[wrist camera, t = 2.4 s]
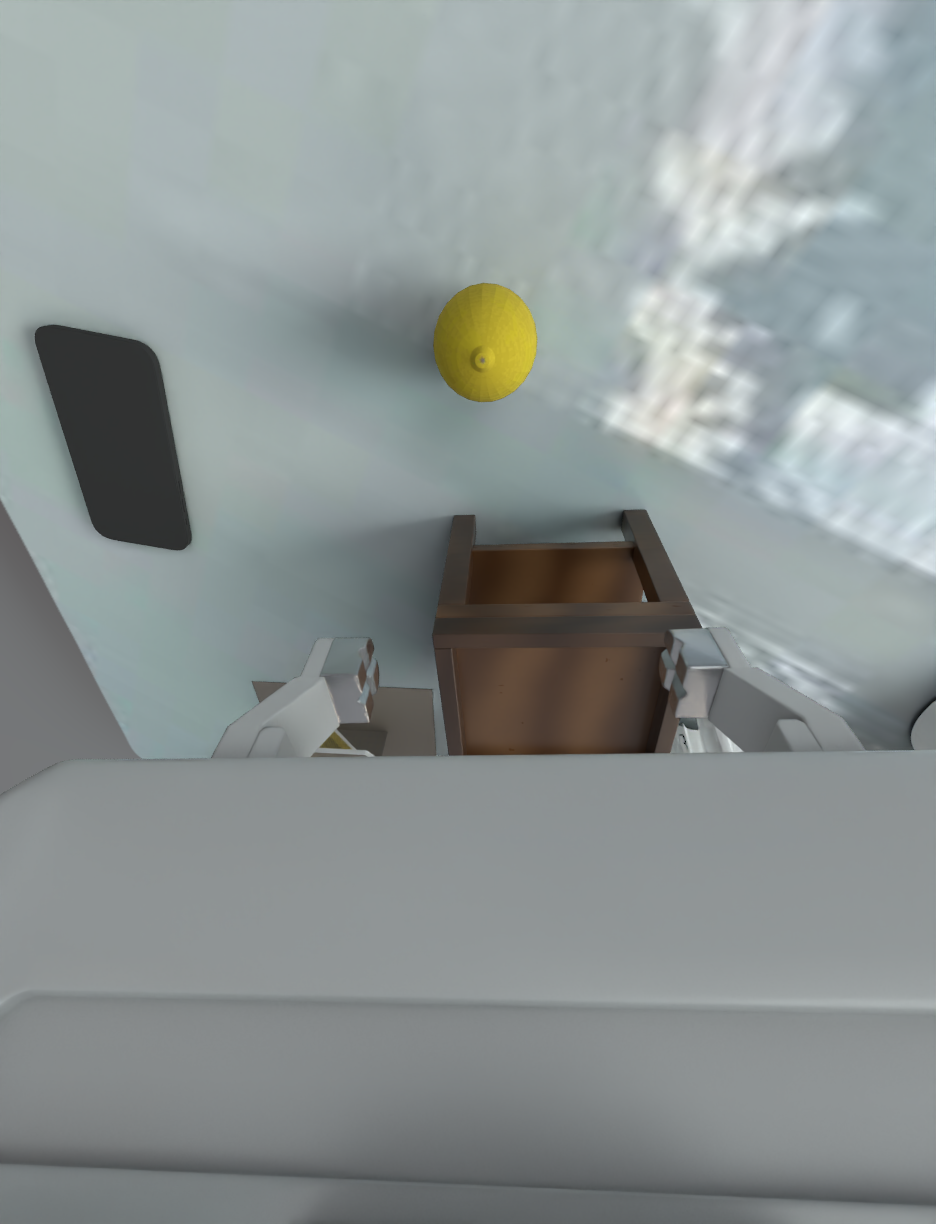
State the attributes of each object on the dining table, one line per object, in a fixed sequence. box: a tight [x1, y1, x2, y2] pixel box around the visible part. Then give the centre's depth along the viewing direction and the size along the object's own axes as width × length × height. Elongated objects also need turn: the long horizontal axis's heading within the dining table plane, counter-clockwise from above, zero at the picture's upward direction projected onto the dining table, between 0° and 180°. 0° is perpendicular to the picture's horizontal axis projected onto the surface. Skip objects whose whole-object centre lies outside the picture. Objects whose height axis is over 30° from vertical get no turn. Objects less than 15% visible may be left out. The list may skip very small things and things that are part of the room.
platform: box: [252, 681, 436, 757], centre depth 51 cm, size 12×18×7 cm, turn 90°
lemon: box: [433, 283, 537, 402], centre depth 27 cm, size 6×6×8 cm
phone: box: [35, 325, 191, 550], centre depth 36 cm, size 7×1×15 cm
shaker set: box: [671, 718, 744, 753], centre depth 45 cm, size 12×4×11 cm, turn 178°
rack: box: [432, 510, 702, 756], centre depth 36 cm, size 14×14×14 cm
